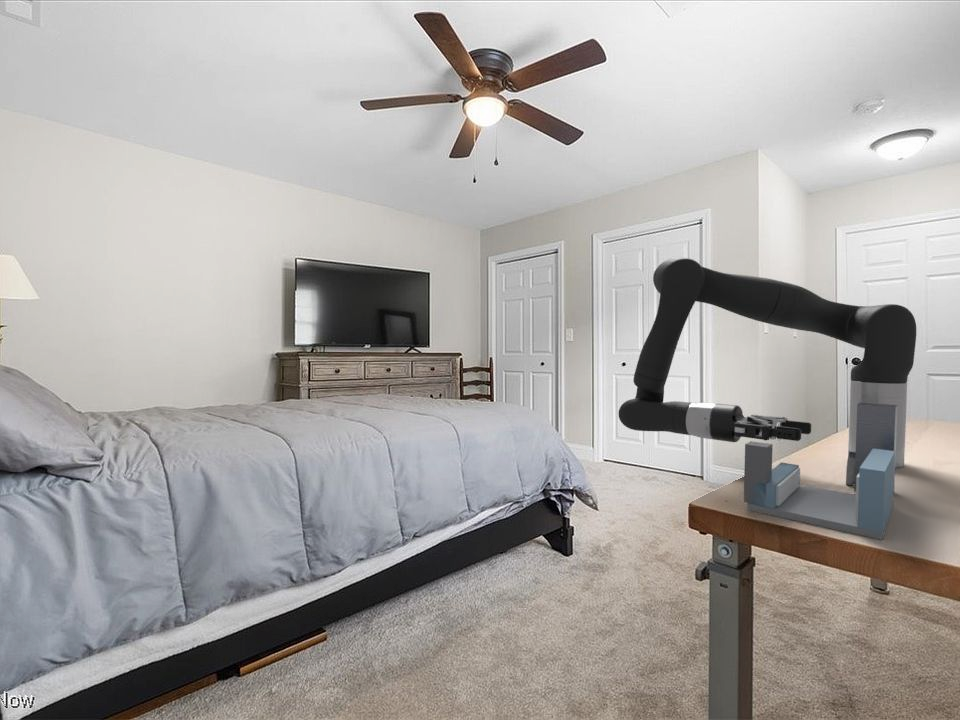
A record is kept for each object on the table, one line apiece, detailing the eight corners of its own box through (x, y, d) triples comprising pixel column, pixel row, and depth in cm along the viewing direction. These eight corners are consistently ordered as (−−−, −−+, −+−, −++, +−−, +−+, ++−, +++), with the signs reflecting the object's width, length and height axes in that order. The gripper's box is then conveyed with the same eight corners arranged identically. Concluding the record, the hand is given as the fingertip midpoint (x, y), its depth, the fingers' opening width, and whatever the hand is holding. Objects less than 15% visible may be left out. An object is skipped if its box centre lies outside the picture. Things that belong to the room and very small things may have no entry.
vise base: (775, 485, 86) (777, 435, 86) (893, 507, 75) (895, 450, 75) (747, 509, 74) (748, 451, 74) (882, 539, 63) (884, 471, 63)
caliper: (853, 488, 86) (854, 453, 86) (845, 486, 87) (847, 452, 86) (872, 467, 100) (873, 437, 100) (865, 466, 101) (867, 436, 100)
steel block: (857, 486, 86) (860, 402, 86) (894, 492, 83) (897, 405, 82) (854, 491, 83) (857, 404, 83) (892, 497, 80) (895, 407, 79)
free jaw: (771, 480, 86) (772, 430, 85) (801, 485, 83) (802, 433, 82) (743, 502, 74) (745, 444, 74) (777, 509, 71) (778, 448, 71)
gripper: (701, 407, 96) (798, 415, 84) (725, 400, 106) (814, 407, 95) (701, 444, 96) (796, 458, 85) (725, 434, 106) (813, 445, 95)
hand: (806, 431), depth 90 cm, fingers open, 8 cm apart
